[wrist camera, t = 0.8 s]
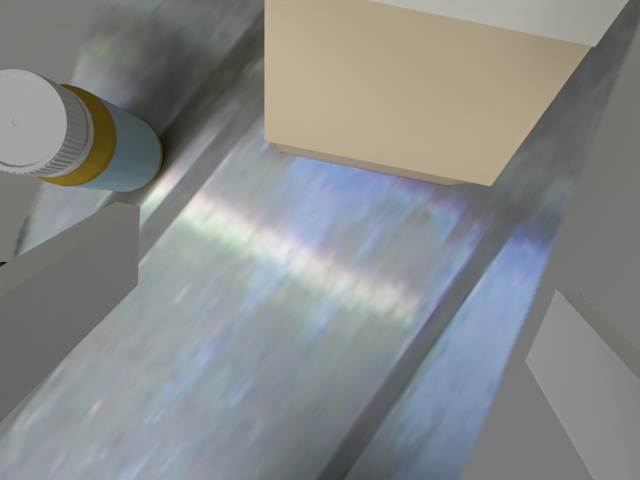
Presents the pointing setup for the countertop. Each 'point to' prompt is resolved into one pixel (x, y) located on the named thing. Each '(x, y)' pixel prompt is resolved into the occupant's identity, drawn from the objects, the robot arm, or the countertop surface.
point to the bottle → (73, 136)
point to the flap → (422, 76)
